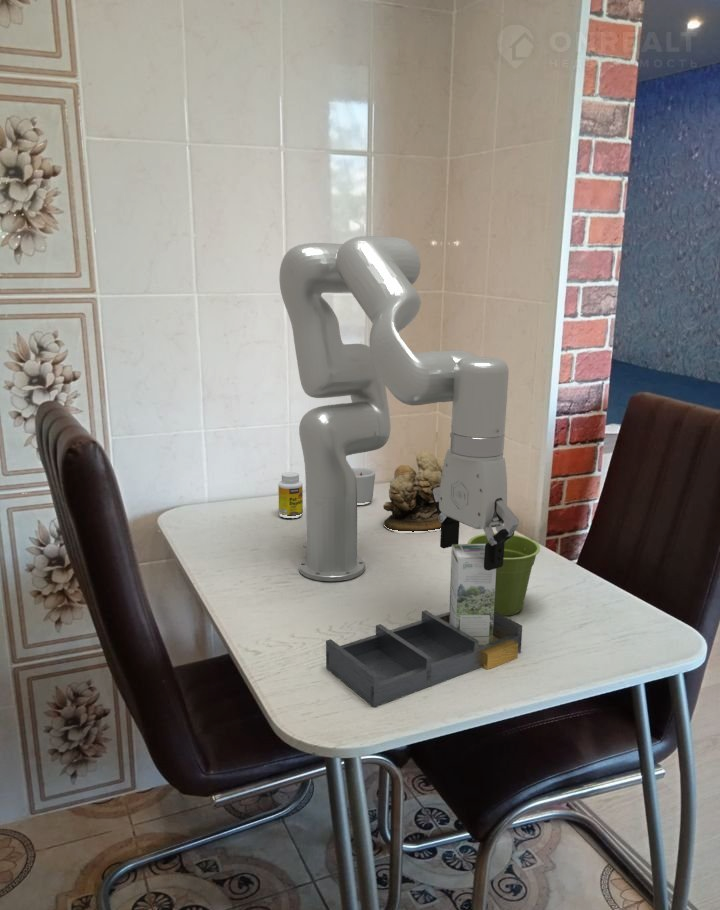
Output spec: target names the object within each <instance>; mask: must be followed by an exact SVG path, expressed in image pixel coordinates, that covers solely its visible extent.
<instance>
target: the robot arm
mask: <svg viewBox="0 0 720 910" xmlns="http://www.w3.org/2000/svg"><path fill="white" fill-rule="evenodd" d="M420 273H421V258H420V255H419V253H418V251H417V249H416V247H415V246H414V245H413V244H412V243H411V242H410V241H408V240H407V239H404V238H402V237H393V236H390V237H389V236H371V235H370V236H368V235H367V236H366V235H365V236H364V235H363V236H362V235H361V236H356V237H353V238H350V239H348V240H346V241H345V242H344V243H331V242H309V243H303V244H298V245H296V246H293V247H292V248H290V249H288V250H287V252H286V253H285V254H284V256H283V258H282V261H281V264H280V268H279V276H278V277H279V279H278V280H279V291H280V294H281V297H282V301H283V303H284V306H285V309H286V312H287V315H288V318H289V320H290V325H291V329H292V333H293V334H292V335H293V343H294V349H295V357H296V364H297V370H298V374H299V381H300V385H301V388H302V390H303V392H304V394H305V395H307V396H308V397H310V398H315V399H326V398H338V397H347V396H350V399H351V402H347V403H345V402H344V403H342V402H341V403H336V404H335V403H334V404H328V405H321V406H317V407H314V408H312V409H310V410H309V411H307V412H305V414H304V415H303V416H302V418H301V420H300V422H299V432H298V433H299V439H300V443H301V449H302V455H303V462H304V472H305V477H304V478H305V507H306V508H305V511H306V515H305V516H306V517H305V518H306V520H305V521H306V540H304V541H303V542H302V547H303V548H304V549H305V550H306V556H305V557H303V558H302V559H301V560H300V561H299V563H298V570H299V572H300V573H301V575H302V574H303V575H302V576H304V577H305V578H309V579H310V580H314V581H320V582H342V581H347V580H352V579H355V578H357V577H359V576H361V575H362V574H363V573H364V572H365V570H366V562H365V560H364V559H363V558H361V557H360V556H358V506H357V480H356V476H355V473H354V471H353V470H352V466H351V465H350V464H349V461H348V460H347V456H351V455H356V454H362V453H367V452H372V451H378V450H380V449H382V448H383V447H384V446H386V444H387V443H388V441H389V439H390V435H391V417H390V410H389V401H388V395H387V390H388V391H389V392H390V394H392V396H393V397H394V398H395V399H396V400H397V401H400V402H401V403H402V404H404V405H408V406H413V407H414V406H423V405H430V404H431V405H432V404H439V403H447V402H449V403H450V402H452V408H451V427H450V429H451V430H450V435H449V437H450V448H449V449H447V451H446V454H445V457H444V459H445V461H444V465H443V470H442V477H441V485H440V487H437V488H434V489H433V494H434V498H435V502H436V504H435V506H436V509H437V511H438V513H439V517H438V518H439V521H440V522H442V523H441V530H440V538H439V539H440V540H439V547H440V548H441V549H443V550H444V549H448V548H452V544H460V542H459V541H460V540H459V539H460V524H463V525H465V526H468V527H470V528H473V529H475V530H483V532H484V534H486V537H487V539H488V541H489V543H486V545H485V557H484V569H485V570H487V571H489V570H492V569H496V568H499V567H502V566H503V558H504V544H505V542H508V540H509V538H511V537H512V536H513V535H514V534H515V531H516V530H517V528H518V526H519V525H520V519H519V518H518V517H517V516H516V515H515V513H514V512H513V511H512V509H510V508H509V507H508V477H507V474H508V473H507V466H506V464H507V463H506V459H505V458H504V451H505V450H504V449H505V448H504V446H505V437H506V436H505V431H506V421H507V420H506V418H507V405H508V404H507V403H508V391H509V390H508V389H509V371H510V370H509V366H508V364H507V363H506V362H505V360H502V359H499V358H496V357H490V356H489V357H487V356H478V355H476V354H473V353H471V352H468V351H465V350H462V349H461V350H458V349H454V350H452V349H451V350H432V351H422V352H413V351H412V350H411V349H410V347H409V346H408V345H407V343H406V342H405V341H404V339H403V338H402V337H401V334H400V333H399V332H401V331H402V330H404V329H405V328H406V327H407V326H408V325H409V324H411V322H412V321H413V320H415V318H416V316H417V315H418V314H419V311H420V308H421V305H422V304H421V302H422V301H421V296H420V294H419V293H418V291H417V290H416V288H415V287H414V285H413V284H415V283H416V281H417V280H418V278H419V276H420ZM323 293H328V294H331V293H335V294H337V293H339V294H341V293H342V294H343V293H344V294H345V293H346V294H347V293H349V294H350V293H351V294H352V296H353V297H354V299H355V301H356V302H357V304H358V305H359V306H360V307H361V309H362V310H363V312H364V314H365V315H366V316H367V318H368V319H369V320H370V322H371V323H372V325H371V328H370V333H369V340H368V341H369V343H368V344H369V345H367V344H364V343H363V344H362V343H349V344H348V343H347V344H345V343H343V340H342V338H341V331H340V323H339V320H338V317H337V315H336V313H335V311H334V310H333V308H332V307H331V305H330V304H329V303H328V302H327V300H326V299H324V297H323V296H322V294H323ZM493 528H495V530H496V533H497V534H494V533H495V532H494V530H493Z"/></svg>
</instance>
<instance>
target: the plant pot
mask: <svg viewBox="0 0 720 910" xmlns="http://www.w3.org/2000/svg"><path fill="white" fill-rule="evenodd" d="M494 534H497V532H494ZM486 543H489V541H488V539H487V537H486V534H485V533H482V534H478V535H476V536H473V537H471V538H470V539H468V541H467V543H466V544H486ZM540 552H541V547H540V544H539V543H538V542H537V541H535V540H534V539H532V538H529V537H527V536H524V535H523V536H522V535H518V534H515V533H514V535H513V536H512V537H511V538H509V540H508V542H505V544H504V558H503V566H502V567H499V568H496V582H495V599H494V611H495V612H497V613H499V614H501V615H503V616H506V617H507V616H513V615H516V614H517V613H518V612H521V611H522V610H523V608H524V602H525V598H526V594H527V591H528V586H529V580H530V577H531V573H532V569H533V566H534V564H535V561H536V557H537V555H538V554H539V553H540Z"/></svg>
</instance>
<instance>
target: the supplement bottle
mask: <svg viewBox="0 0 720 910" xmlns="http://www.w3.org/2000/svg"><path fill="white" fill-rule="evenodd" d="M299 474H300V473H298V472H296V471H287V472H283V473H281V481H279V482H278V486H277V487H278V488H277V489H278V514H279V513H280V514H282V515H287V516H296V515H300V514H302V513H304V509H303V508H304V506H303V504H304V503H303V502H304V501H303V500H304V499H303V482H302V481H300V475H299ZM302 515H303V514H302Z"/></svg>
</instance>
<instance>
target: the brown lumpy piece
mask: <svg viewBox="0 0 720 910" xmlns="http://www.w3.org/2000/svg"><path fill="white" fill-rule="evenodd" d="M415 461H416V464H417V465H416V466H417V468H418V471H415V469H414V468H412V467H411V466H410V465H407V464H402V465H399V466H397V467H396V468H395V470H394V474H393V475H394V477H393V478H392V479H391V480H390V482H389V489H388V498H389V500H390V501H385V503H384V504H383V510H385V511H386V512H391V514H390V515H389V516H388V517H387V518H386V519H385V520H384V522H383V526H384V525H385V526H386V527H387V528H389V529H392V530H398V531H412V532H414V531H428V530H435V529H440V528H441V523H442V522H440V521H439V518H438V517H439V513H438V511H437V509H436V506H435V504H436V502H435V498H434V494H433V489H434V488H437V487H440V485H441V477H442V470H443V465H444V461H445V458H443V457H436V456H434V454H433V453H431V452H426V451H421V452H420V453H418V454H417V455H416V460H415Z"/></svg>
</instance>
